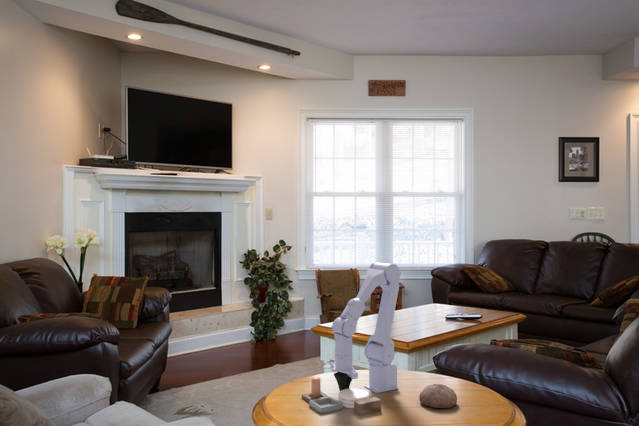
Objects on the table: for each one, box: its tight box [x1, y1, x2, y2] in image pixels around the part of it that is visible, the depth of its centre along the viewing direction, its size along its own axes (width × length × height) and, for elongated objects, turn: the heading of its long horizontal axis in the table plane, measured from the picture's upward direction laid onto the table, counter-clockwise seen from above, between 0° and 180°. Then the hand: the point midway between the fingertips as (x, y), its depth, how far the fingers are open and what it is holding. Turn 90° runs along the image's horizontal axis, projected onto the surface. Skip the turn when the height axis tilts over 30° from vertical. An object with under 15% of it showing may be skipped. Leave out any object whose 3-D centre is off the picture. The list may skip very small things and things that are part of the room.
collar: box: [301, 391, 330, 404], centre depth 178 cm, size 7×7×1 cm
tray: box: [309, 396, 343, 415], centre depth 170 cm, size 8×8×2 cm
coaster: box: [337, 387, 370, 410], centre depth 174 cm, size 10×10×4 cm
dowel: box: [310, 376, 322, 399], centre depth 178 cm, size 3×3×7 cm
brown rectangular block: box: [353, 396, 382, 416], centre depth 167 cm, size 8×3×4 cm, turn 118°
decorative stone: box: [418, 383, 458, 409], centre depth 174 cm, size 12×12×6 cm
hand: (343, 394), depth 179 cm, fingers closed
